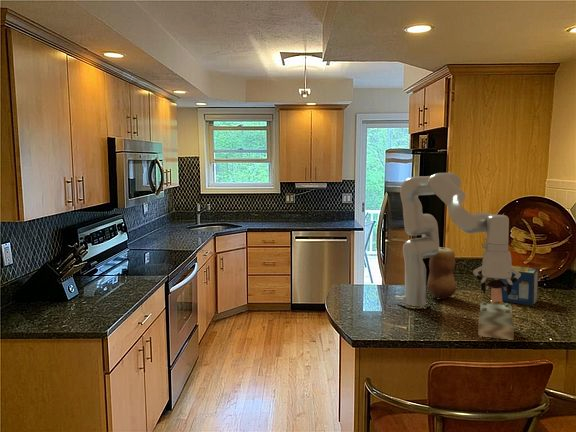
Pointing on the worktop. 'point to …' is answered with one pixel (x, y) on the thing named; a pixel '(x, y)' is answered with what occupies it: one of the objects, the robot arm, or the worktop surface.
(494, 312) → the grey studded block
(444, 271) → the butternut squash
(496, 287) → the grandmother figurine
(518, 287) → the protein box
